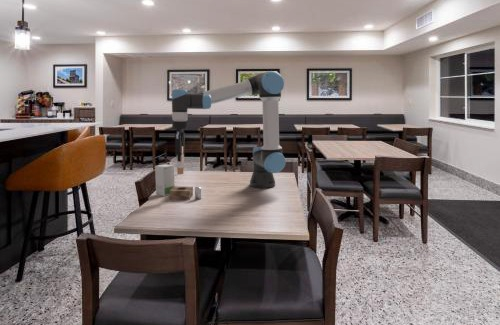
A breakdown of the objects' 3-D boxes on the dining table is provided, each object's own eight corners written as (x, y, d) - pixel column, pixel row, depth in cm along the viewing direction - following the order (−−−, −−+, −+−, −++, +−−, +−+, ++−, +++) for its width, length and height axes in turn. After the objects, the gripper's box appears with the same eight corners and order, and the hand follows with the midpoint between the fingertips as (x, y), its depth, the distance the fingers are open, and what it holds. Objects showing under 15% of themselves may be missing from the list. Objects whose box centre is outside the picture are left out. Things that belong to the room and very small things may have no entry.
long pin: (183, 173, 189) (183, 146, 187) (182, 174, 186) (182, 146, 184) (178, 173, 189) (177, 146, 187) (176, 174, 186) (176, 146, 184)
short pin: (201, 198, 188) (201, 186, 187) (200, 199, 185) (200, 188, 184) (195, 198, 188) (195, 186, 187) (194, 199, 185) (194, 188, 184)
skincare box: (164, 196, 190) (163, 167, 188) (155, 194, 194) (154, 165, 191) (175, 193, 197) (174, 164, 195) (166, 191, 201) (165, 163, 198)
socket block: (193, 194, 194) (192, 186, 193) (189, 199, 184) (189, 191, 184) (174, 194, 194) (174, 186, 194) (169, 199, 185) (169, 190, 184)
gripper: (175, 119, 191) (176, 164, 195) (168, 121, 175) (169, 169, 179) (190, 120, 191) (190, 164, 195) (184, 121, 175) (184, 169, 179)
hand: (180, 166), depth 187 cm, fingers closed on long pin, 3 cm apart
